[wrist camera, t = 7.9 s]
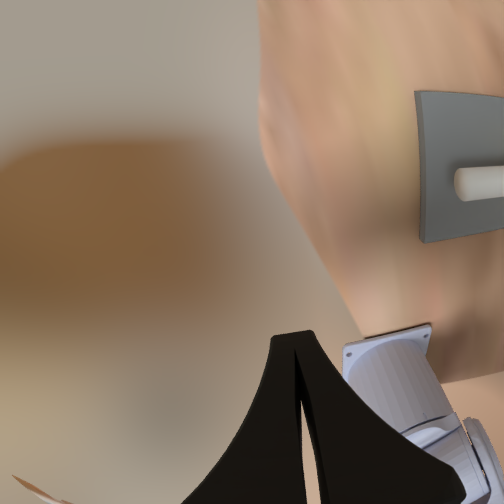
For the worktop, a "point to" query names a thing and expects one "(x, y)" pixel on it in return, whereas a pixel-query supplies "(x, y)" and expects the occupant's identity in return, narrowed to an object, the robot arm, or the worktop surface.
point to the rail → (460, 164)
